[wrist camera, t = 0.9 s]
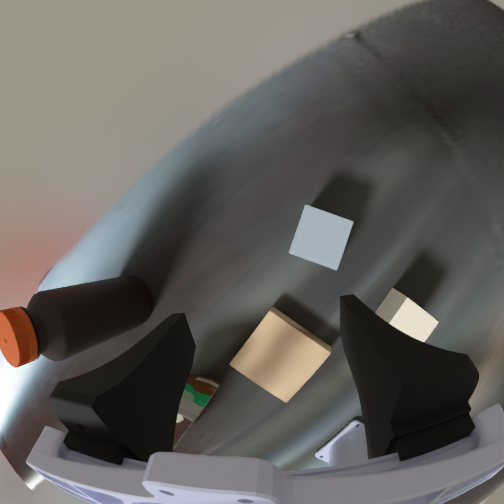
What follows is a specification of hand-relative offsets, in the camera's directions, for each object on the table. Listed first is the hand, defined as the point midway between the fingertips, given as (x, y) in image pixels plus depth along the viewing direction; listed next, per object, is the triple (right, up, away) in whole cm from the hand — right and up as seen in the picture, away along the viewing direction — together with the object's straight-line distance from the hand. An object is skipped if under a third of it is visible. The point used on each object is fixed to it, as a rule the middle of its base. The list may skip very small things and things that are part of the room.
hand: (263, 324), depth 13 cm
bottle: (-16, -3, +23) cm, 28 cm away
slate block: (+7, +5, +17) cm, 19 cm away
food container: (-9, -16, +22) cm, 28 cm away
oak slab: (+3, -8, +19) cm, 21 cm away
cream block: (+15, -4, +15) cm, 22 cm away
